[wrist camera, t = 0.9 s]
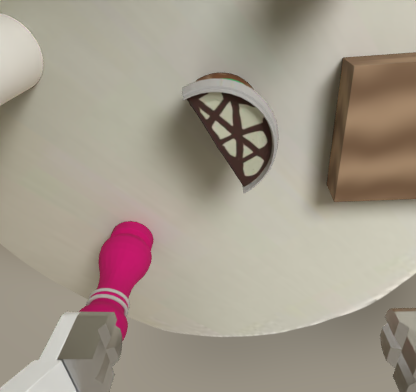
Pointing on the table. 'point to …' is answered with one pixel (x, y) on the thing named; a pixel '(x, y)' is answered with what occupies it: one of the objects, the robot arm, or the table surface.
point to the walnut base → (375, 130)
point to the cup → (17, 59)
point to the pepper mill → (121, 270)
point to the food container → (236, 124)
